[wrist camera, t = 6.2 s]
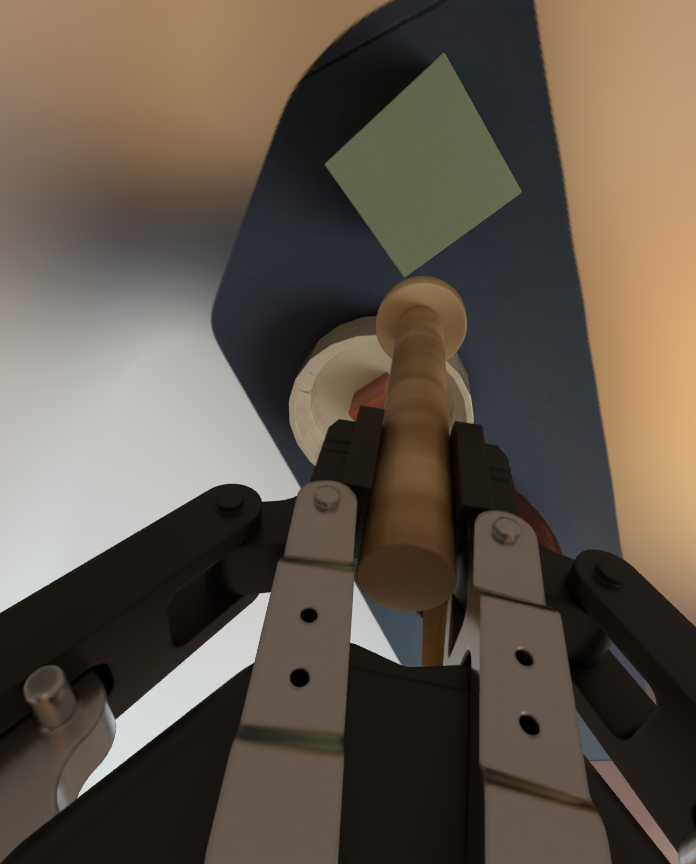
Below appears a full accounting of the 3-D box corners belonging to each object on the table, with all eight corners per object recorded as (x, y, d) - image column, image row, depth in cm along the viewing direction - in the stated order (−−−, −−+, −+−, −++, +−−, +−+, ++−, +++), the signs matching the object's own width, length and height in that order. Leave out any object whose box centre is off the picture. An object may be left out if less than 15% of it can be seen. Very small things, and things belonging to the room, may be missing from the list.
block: (353, 392, 46) (347, 414, 43) (387, 371, 45) (383, 392, 41) (378, 422, 48) (374, 445, 44) (411, 402, 46) (410, 424, 43)
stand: (348, 152, 36) (323, 164, 28) (440, 67, 32) (444, 51, 24) (409, 242, 39) (404, 277, 30) (500, 173, 35) (522, 192, 27)
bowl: (267, 375, 47) (251, 400, 43) (404, 275, 40) (401, 294, 36) (366, 484, 53) (361, 515, 49) (502, 413, 46) (509, 443, 42)
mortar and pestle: (402, 586, 62) (393, 737, 47) (443, 567, 59) (448, 721, 44) (435, 614, 64) (436, 767, 49) (476, 596, 61) (491, 753, 46)
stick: (360, 310, 22) (267, 553, 10) (433, 256, 20) (433, 468, 8) (410, 375, 24) (384, 660, 11) (482, 329, 22) (549, 607, 9)
